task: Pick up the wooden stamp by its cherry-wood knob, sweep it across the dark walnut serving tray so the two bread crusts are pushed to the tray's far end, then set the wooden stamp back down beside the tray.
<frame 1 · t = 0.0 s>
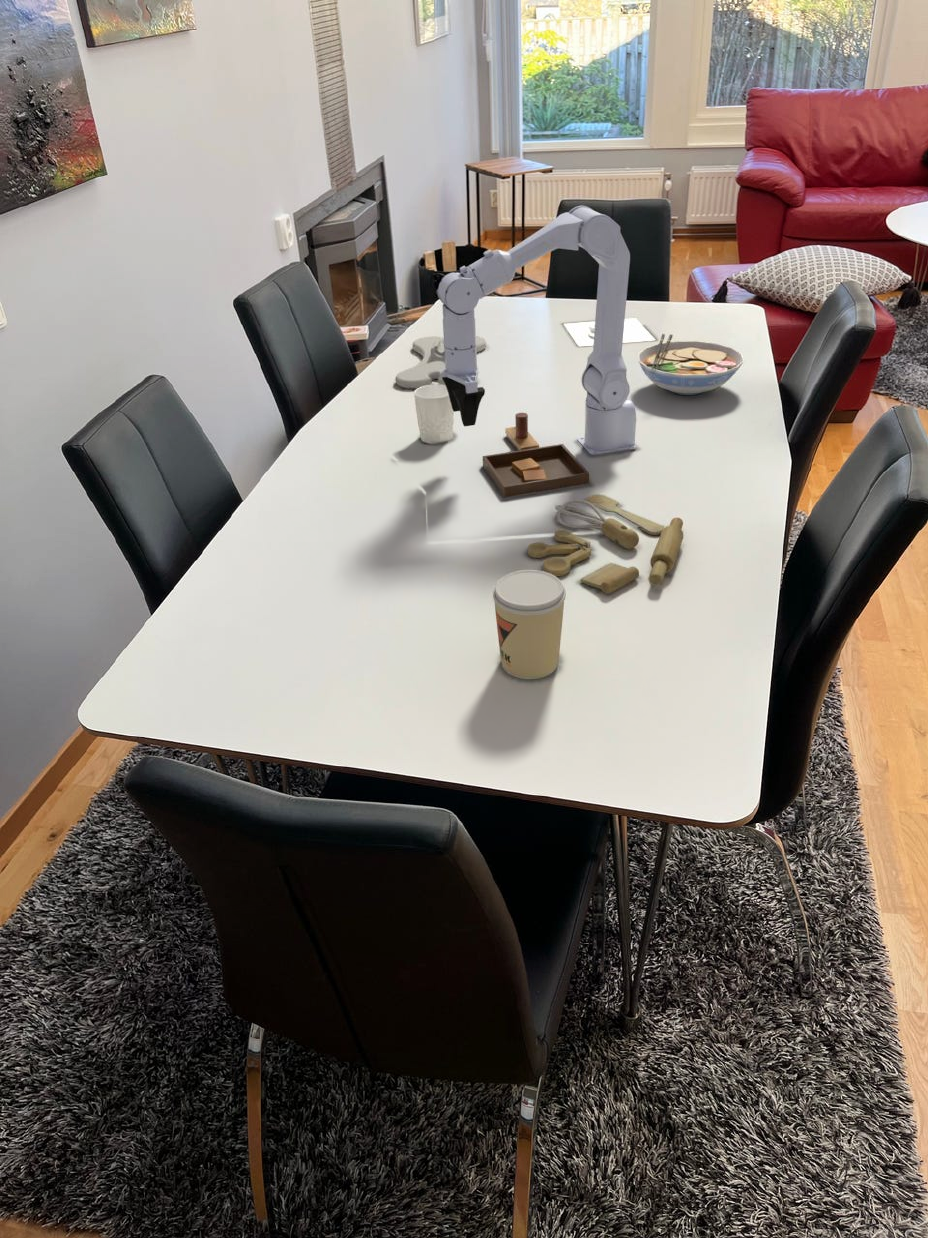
hand: (463, 417, 171), 10 cm above the table, tool pointing down, fingers open, 7 cm apart
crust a: (526, 469, 173), resting on tray
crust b: (534, 480, 169), resting on tray
teacup and saucer: (608, 332, 242), on the table
wooden stamp: (521, 446, 184), on the table
tray: (534, 476, 172), on the table
lidded cream canister: (529, 663, 125), on the table
holder: (443, 365, 227), on the table
toy baking set: (605, 543, 150), on the table
ramen bowl: (687, 390, 205), on the table
white cup: (436, 438, 189), on the table
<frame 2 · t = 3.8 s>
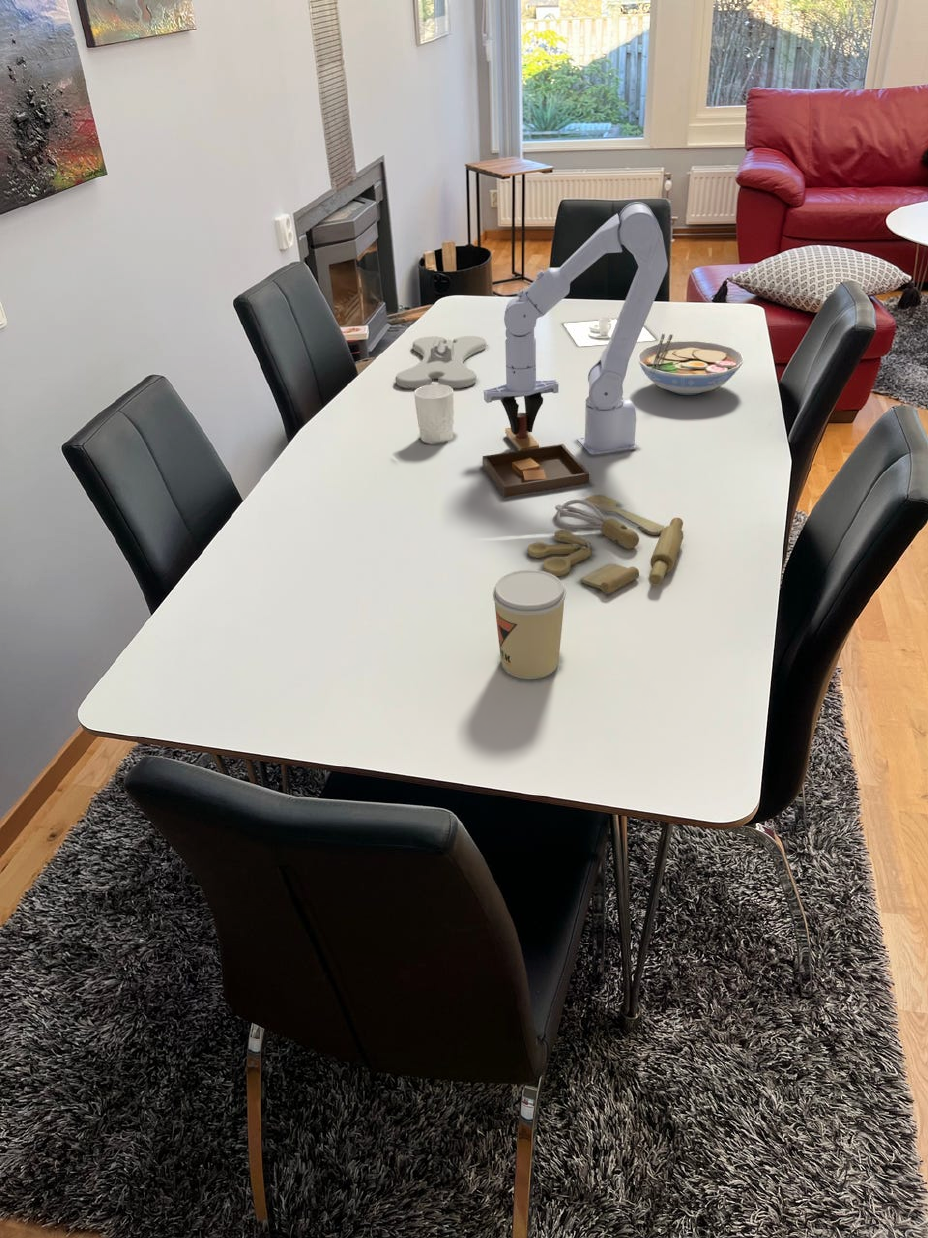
hand: (521, 431, 182), 3 cm above the table, tool pointing down, fingers closed on wooden stamp, 2 cm apart
wooden stamp: (521, 446, 184), on the table, touching gripper
everything else where it was.
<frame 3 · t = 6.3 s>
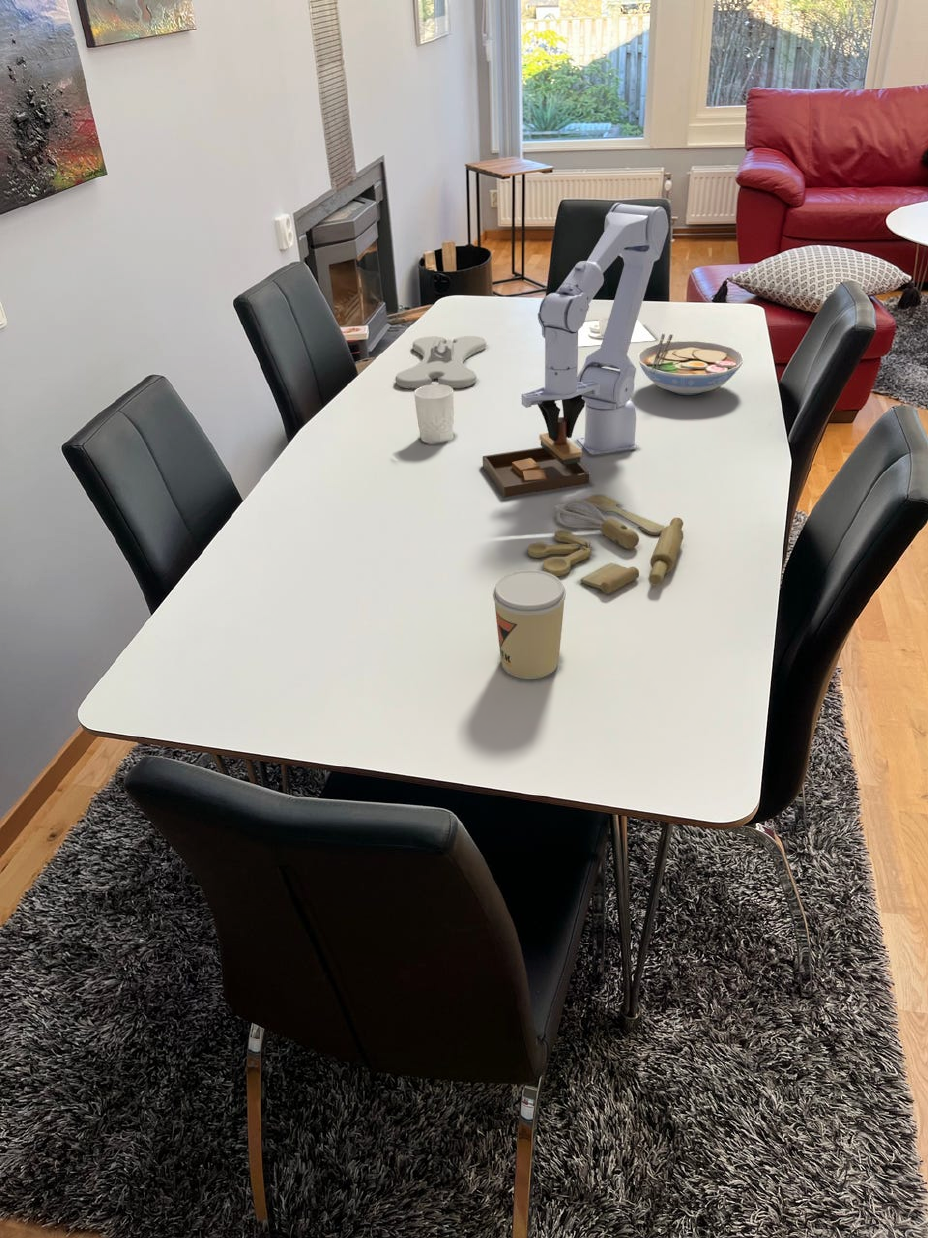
hand: (560, 437, 169), 7 cm above the table, tool pointing down, fingers closed on wooden stamp, 2 cm apart
wooden stamp: (560, 453, 171), point 4 cm above the table, touching gripper
everything else where it was.
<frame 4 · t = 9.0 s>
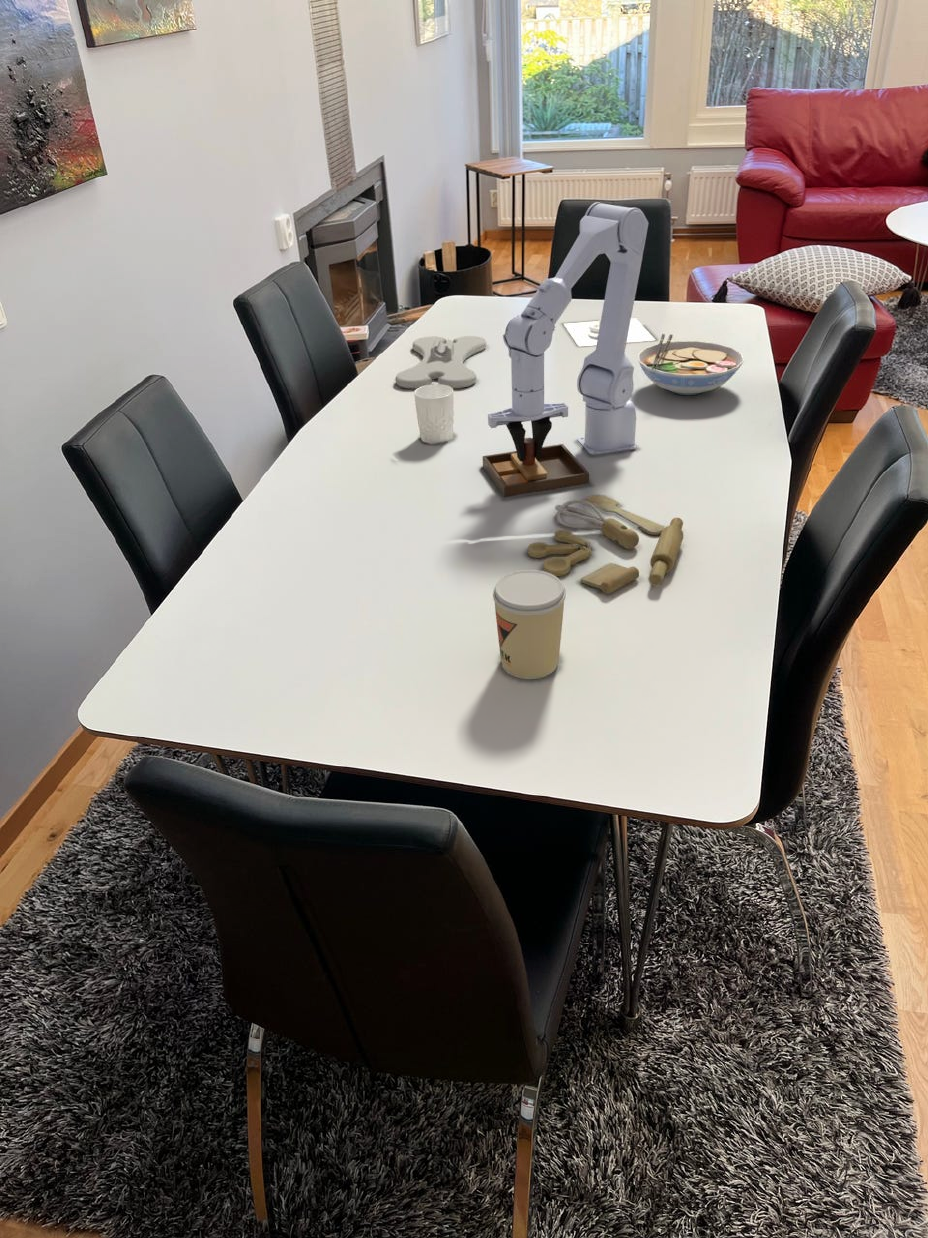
hand: (528, 457, 169), 4 cm above the table, tool pointing down, fingers closed on wooden stamp, 2 cm apart
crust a: (505, 471, 173), resting on tray, touching wooden stamp
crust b: (514, 484, 168), resting on tray, touching wooden stamp
wooden stamp: (528, 473, 171), point 1 cm above the table, touching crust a, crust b, gripper
everything else where it was.
when the fingers open (3 cm above the table, at t = 12.9 s): wooden stamp stays where it is, on the table.
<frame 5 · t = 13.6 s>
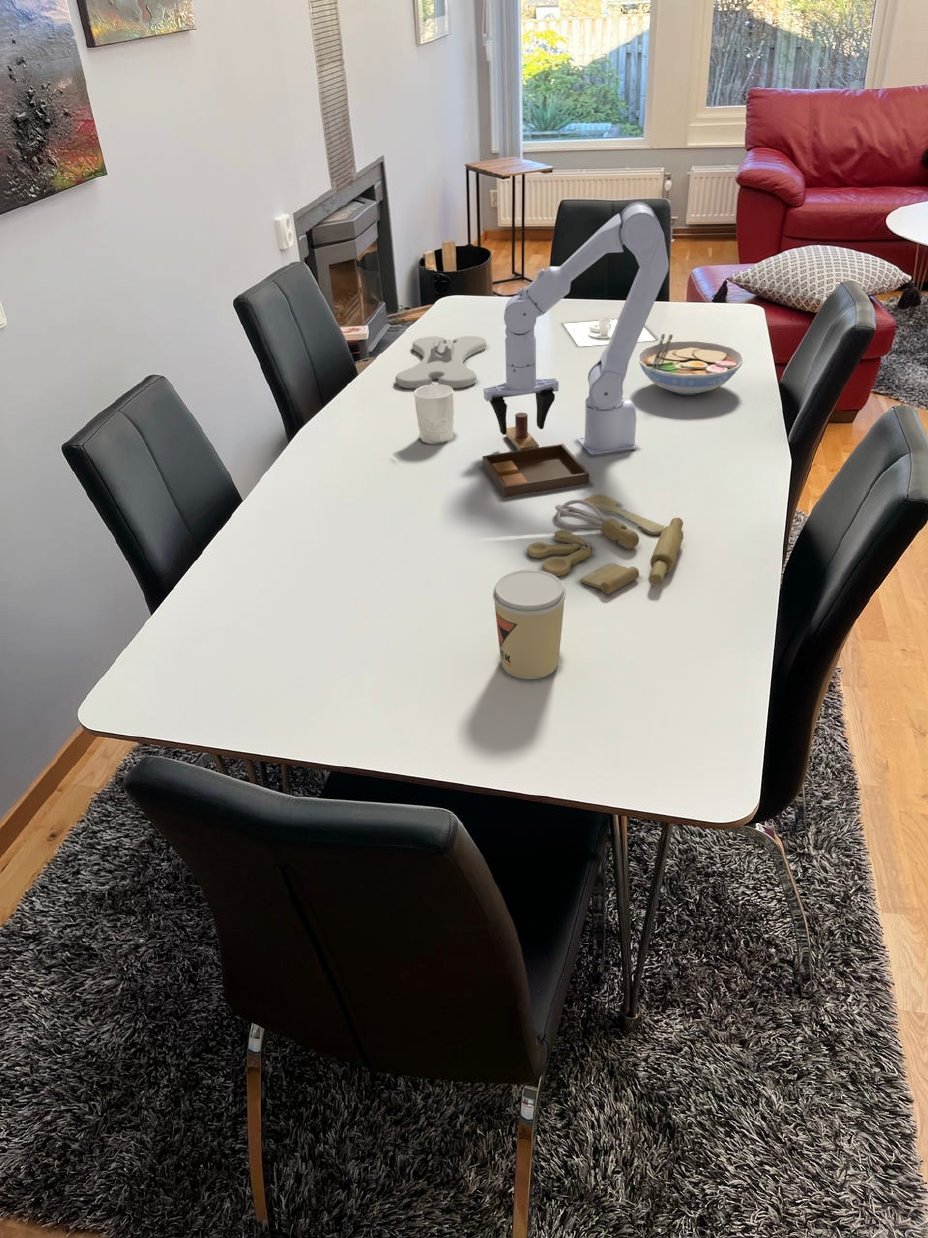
hand: (521, 430, 182), 4 cm above the table, tool pointing down, fingers open, 7 cm apart
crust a: (504, 472, 173), resting on tray
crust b: (514, 484, 168), resting on tray
wooden stamp: (521, 446, 184), on the table
everything else where it was.
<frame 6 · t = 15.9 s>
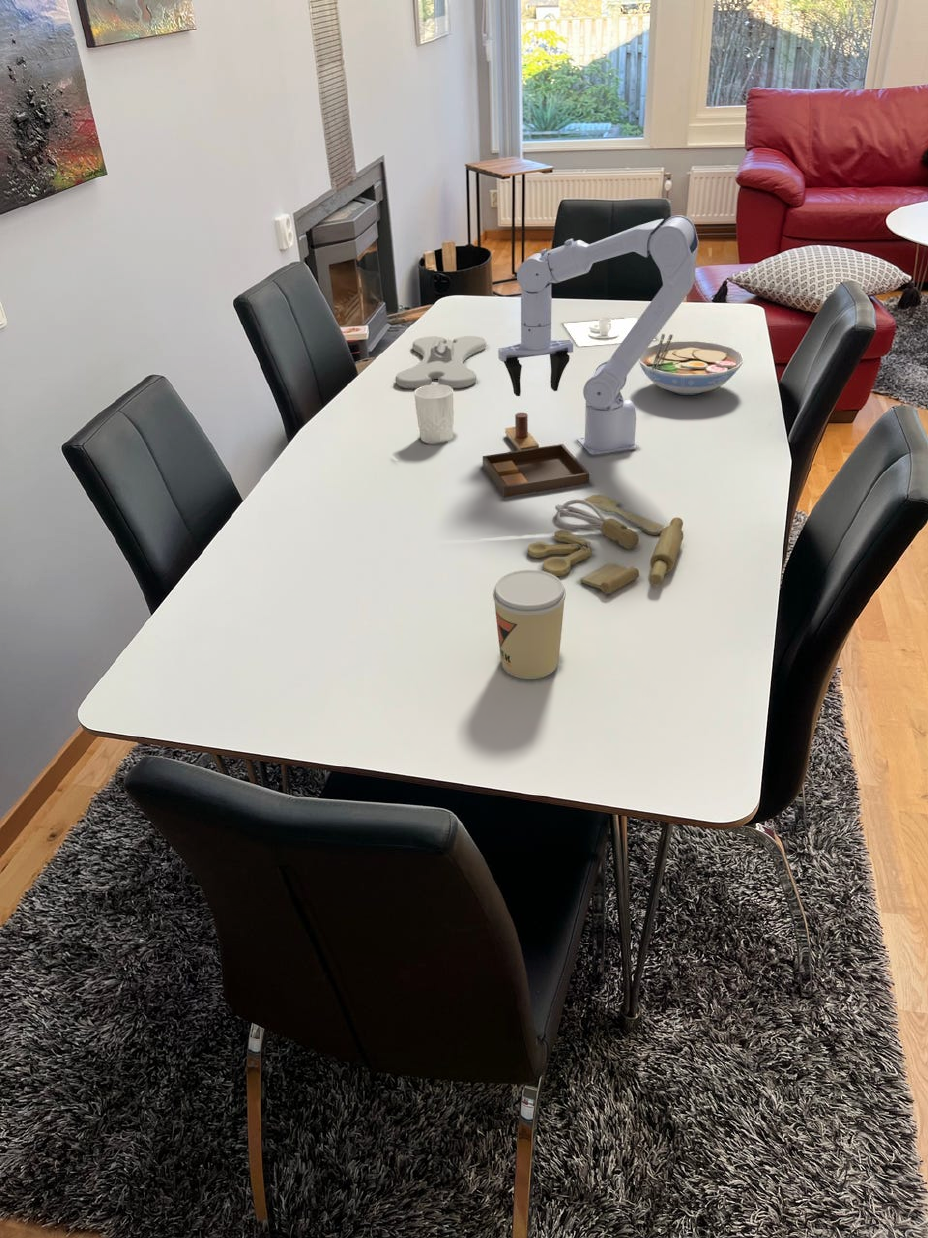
hand: (535, 391, 181), 10 cm above the table, tool pointing down, fingers open, 7 cm apart
nothing on the table moved.
at the end: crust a inside the target area in the tray (2.9 cm from its centre), point 0.5 cm above the tray's base; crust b inside the target area in the tray (2.9 cm from its centre), point 0.5 cm above the tray's base; wooden stamp inside the target area (0.0 cm from its centre), on the table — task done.
